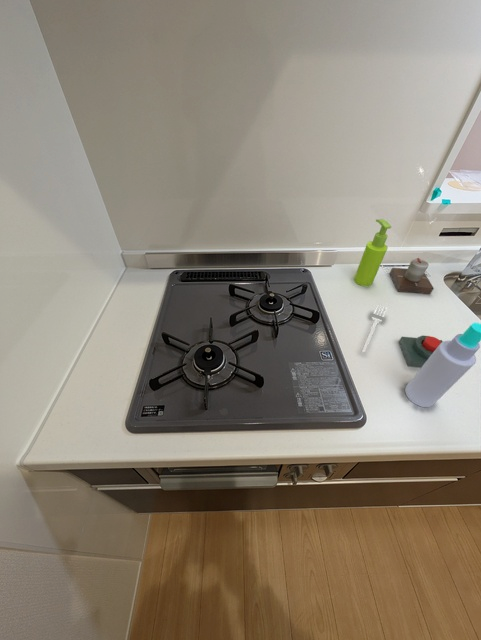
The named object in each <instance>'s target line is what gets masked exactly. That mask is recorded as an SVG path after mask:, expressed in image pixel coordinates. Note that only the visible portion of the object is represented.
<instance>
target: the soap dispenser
mask: <svg viewBox="0 0 481 640" xmlns="http://www.w3.org/2000/svg"><path fill="white" fill-rule="evenodd" d="M375 222H376V223H378V224H379V225H380V226H381V227H380V229H379V231H378V232H375V234H374V237H373V240H370V241H368V242H366V246H365V248H364V250H363V253H362V256H361V259H360V262H359V264H358V267H357V270H356V273H355V275H354V278H353V281H354V283H355V284H357V285H358V286H361V287H371V286H372V285H373V283H374V281H375V278H376V277H377V275H378V271H379V269H380V267H381V265H382V262H383V260H384V257H385V255H386V253H387V251H388V246H387V244H386V241H387V239H388V235H387V231H388V229H389V230H390V229H391V228H392V226H391V224H390V223H389V222H388V221H387V220H385V219H382V218H380V219H379V218H378V219H375Z"/></svg>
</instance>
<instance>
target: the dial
mask: <svg viewBox="0 0 481 640" xmlns="http://www.w3.org/2000/svg"><path fill="white" fill-rule="evenodd" d="M428 267H429V262H428V261H426V260H424V259H422V258H419V257H417V258H413V259H412V260H411V261H410V263H409V265H408V267H407V268H406V269H407V271H406V273H405V275H404V276H405V278H406V279H408V280H410V281H413V282H418V281H420V279H421V278H422V276H423V274H424V273H425V274H426V270H427V269H428Z"/></svg>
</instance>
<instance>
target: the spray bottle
mask: <svg viewBox="0 0 481 640" xmlns="http://www.w3.org/2000/svg"><path fill="white" fill-rule="evenodd" d="M480 342H481V323H480V322H479V323H478V322H473V323H471V324H470V325H469V326H468V328H466V330H465V331H464V332H463V333H458V334H456V335H455V336H454V337H453V338H452V339H451V340H444V341H443V342H442V343H441V344H440V345H439V346H438V347H437V348H436V350H435V351H434V352H433V353H432V355H431V356H430V357H429V358H428V360H427V361H426V362H425V363H424V365H423V366H422V367H421V368H419V370H417V372H416V373H415V375H414V376H413V377H412V378H411V379H410V380H409V382H408V383H407V385H405V390H404V391H405V395H406V397H407V398H408V400H409V401H410V402H411V403H413V404H414V405H417V406H419V407H422V408H429V407H432V406H433V405H435V404H436V403H437V402H438V401H439V400H440V399H441V398H442V397H443V396H444V395H445V394H446V393H447V392H448V391H449V390H450V389H451V388H452V387H453V386H454V385H455V384H456V383H457V382H458V381H459V380H460V379H462V378H463V376H464V375H465V374H466V373H467V372H469V370H470V369H471V368H472V367H473V366H475V364H476V363H477V356H476V355H475V354H476V353H477V352H478V351H479V349H480V348H481V345H480Z"/></svg>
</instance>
